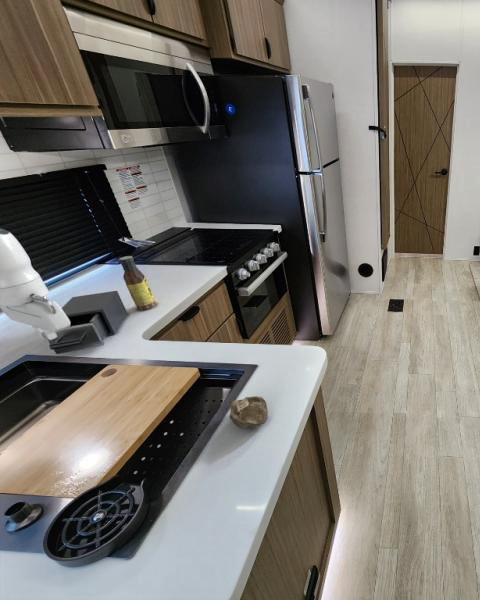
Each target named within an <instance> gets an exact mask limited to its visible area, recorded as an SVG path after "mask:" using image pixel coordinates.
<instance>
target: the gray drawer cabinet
mask: <svg viewBox="0 0 480 600" xmlns="http://www.w3.org/2000/svg"><path fill="white" fill-rule="evenodd" d="M61 308H62V310H63V311H64V313H65V314H66V316H67V317H71V316H77V315H83V314H89V313H95V312H101V313H102V315H103V317H104V319H105V321H106V323H107V325H108V327H109V329H110V331H109V332H108V334H107V335H106V337H107V336H112V335H116V333H117V332H118V330H119V328H120V327H121V325H122V324H123V322H124V321H125V319H126V318H127V316H128V311H127V308H126V307H125V304H124V302H123V300H122V298H121V296H120V294H119V292H118V290H112V291H105V292H104V291H103V292H97V293H91V294H84V295H77V296H72V297H71V298H70V299H69V300H68V301H67V302H66V303H65V304H64V305H63V306H61Z"/></svg>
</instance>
